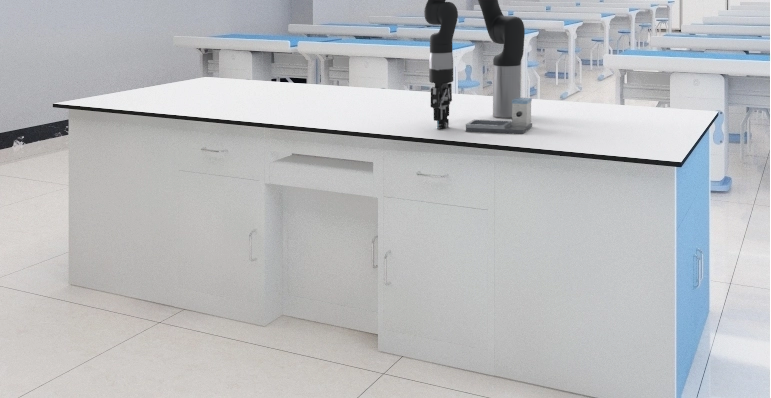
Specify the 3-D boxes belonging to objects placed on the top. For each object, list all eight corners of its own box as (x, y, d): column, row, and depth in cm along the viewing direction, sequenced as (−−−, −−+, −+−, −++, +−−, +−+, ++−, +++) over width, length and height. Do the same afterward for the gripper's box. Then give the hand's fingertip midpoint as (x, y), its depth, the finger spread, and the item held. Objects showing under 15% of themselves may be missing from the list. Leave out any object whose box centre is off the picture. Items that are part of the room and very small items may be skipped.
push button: (445, 130, 291) (445, 98, 289) (429, 129, 293) (429, 98, 291) (453, 127, 297) (453, 95, 295) (437, 126, 299) (437, 95, 297)
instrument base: (477, 124, 300) (477, 96, 298) (532, 126, 294) (532, 97, 292) (465, 131, 289) (465, 101, 286) (522, 134, 282) (523, 103, 280)
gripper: (436, 64, 298) (437, 114, 302) (422, 69, 285) (422, 121, 289) (459, 64, 295) (459, 115, 299) (445, 69, 283) (446, 122, 287)
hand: (441, 118), depth 294 cm, fingers open, 8 cm apart
